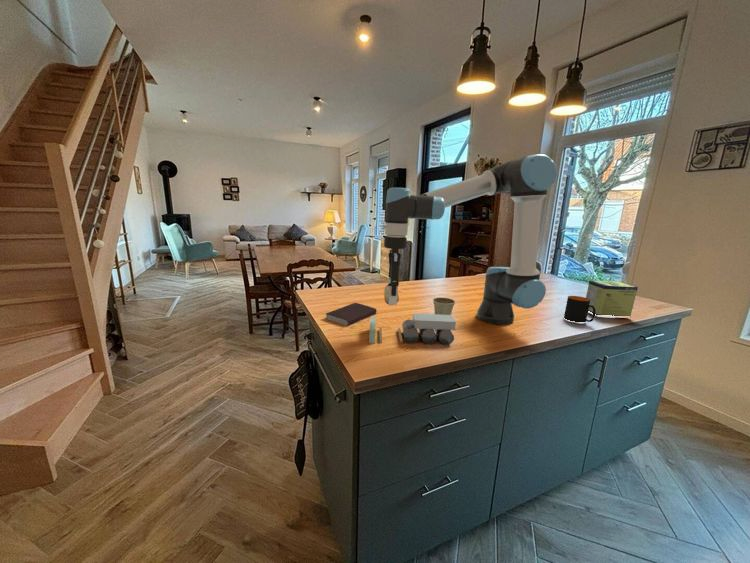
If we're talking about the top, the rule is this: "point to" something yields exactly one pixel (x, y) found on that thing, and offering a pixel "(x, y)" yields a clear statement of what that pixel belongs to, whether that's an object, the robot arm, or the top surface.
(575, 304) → the mug
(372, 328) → the stop fence
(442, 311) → the flower pot
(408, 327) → the roller track
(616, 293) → the protein box
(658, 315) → the top surface
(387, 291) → the roller
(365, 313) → the book
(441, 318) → the slab
